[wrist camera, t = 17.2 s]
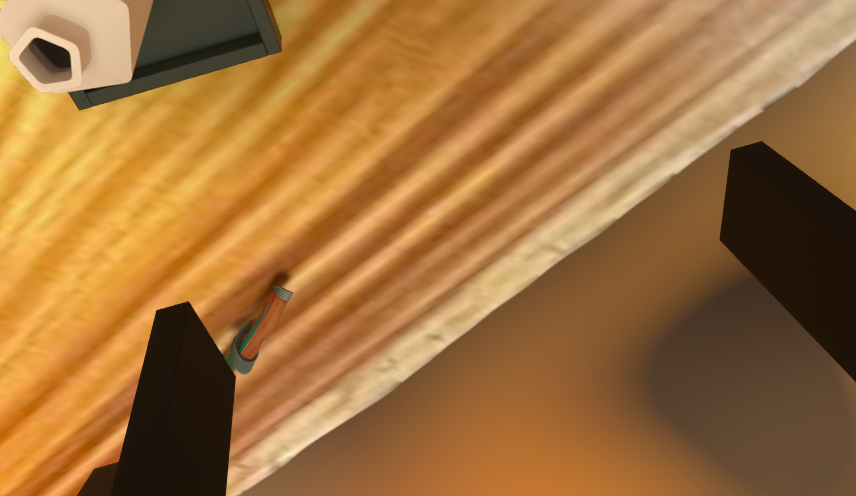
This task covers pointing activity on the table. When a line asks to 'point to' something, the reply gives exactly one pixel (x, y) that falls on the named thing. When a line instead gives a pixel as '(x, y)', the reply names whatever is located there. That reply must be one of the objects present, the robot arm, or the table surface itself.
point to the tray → (193, 44)
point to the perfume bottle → (74, 41)
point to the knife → (257, 332)
